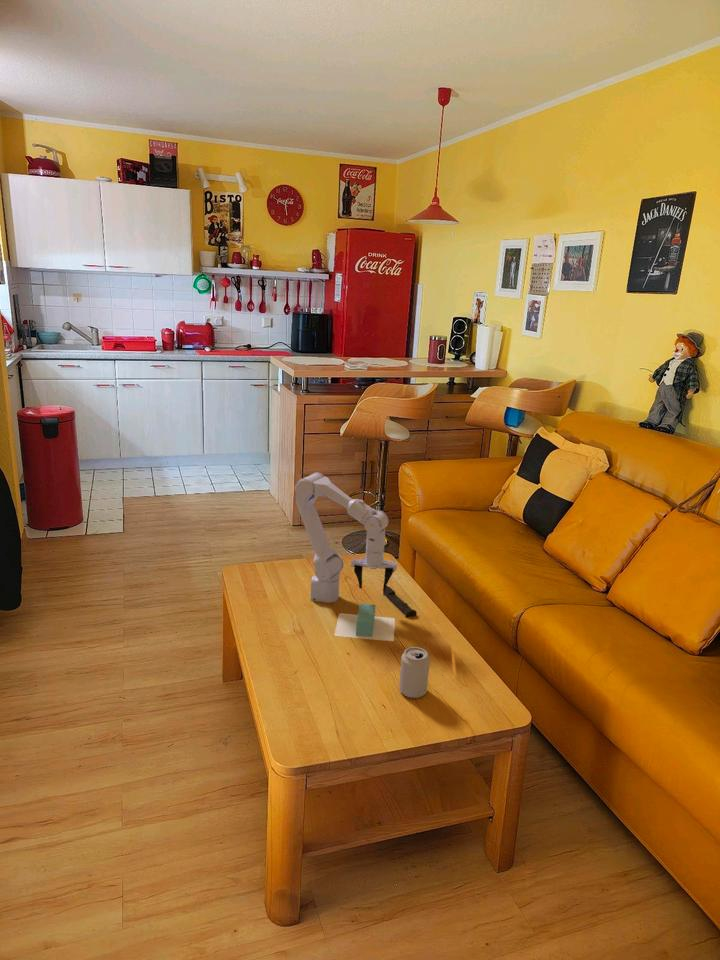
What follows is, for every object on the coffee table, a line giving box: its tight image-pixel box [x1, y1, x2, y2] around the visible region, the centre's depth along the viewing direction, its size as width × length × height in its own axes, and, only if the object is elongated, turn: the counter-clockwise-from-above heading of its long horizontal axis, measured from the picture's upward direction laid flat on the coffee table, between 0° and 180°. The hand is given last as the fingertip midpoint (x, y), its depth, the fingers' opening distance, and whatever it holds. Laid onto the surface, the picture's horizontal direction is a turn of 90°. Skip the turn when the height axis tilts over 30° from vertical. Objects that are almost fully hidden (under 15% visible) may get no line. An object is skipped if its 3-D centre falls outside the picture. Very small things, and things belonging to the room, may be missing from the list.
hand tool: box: [382, 585, 418, 619], centre depth 220 cm, size 19×4×5 cm, turn 24°
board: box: [334, 612, 396, 642], centre depth 205 cm, size 18×14×2 cm
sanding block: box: [356, 603, 377, 637], centre depth 204 cm, size 5×11×5 cm, turn 175°
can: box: [398, 646, 431, 699], centre depth 175 cm, size 8×8×12 cm
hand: (372, 588), depth 213 cm, fingers open, 7 cm apart
